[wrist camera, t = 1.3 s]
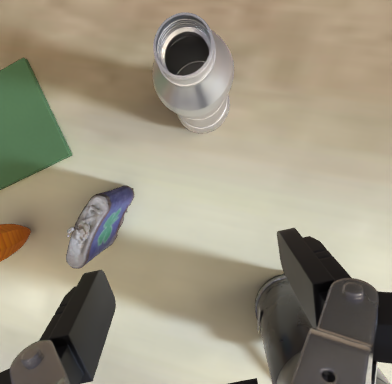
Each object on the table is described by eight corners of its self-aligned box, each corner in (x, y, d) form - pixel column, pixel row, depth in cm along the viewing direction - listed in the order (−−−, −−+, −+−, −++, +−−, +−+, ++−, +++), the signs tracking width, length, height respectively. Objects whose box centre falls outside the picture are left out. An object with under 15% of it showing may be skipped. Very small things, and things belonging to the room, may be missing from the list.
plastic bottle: (172, 124, 37) (113, 83, 17) (190, 74, 36) (151, -33, 16) (217, 142, 36) (212, 121, 17) (237, 92, 35) (257, 6, 16)
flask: (112, 248, 39) (71, 280, 29) (93, 239, 39) (46, 267, 29) (138, 190, 38) (106, 201, 27) (119, 180, 38) (80, 188, 28)
